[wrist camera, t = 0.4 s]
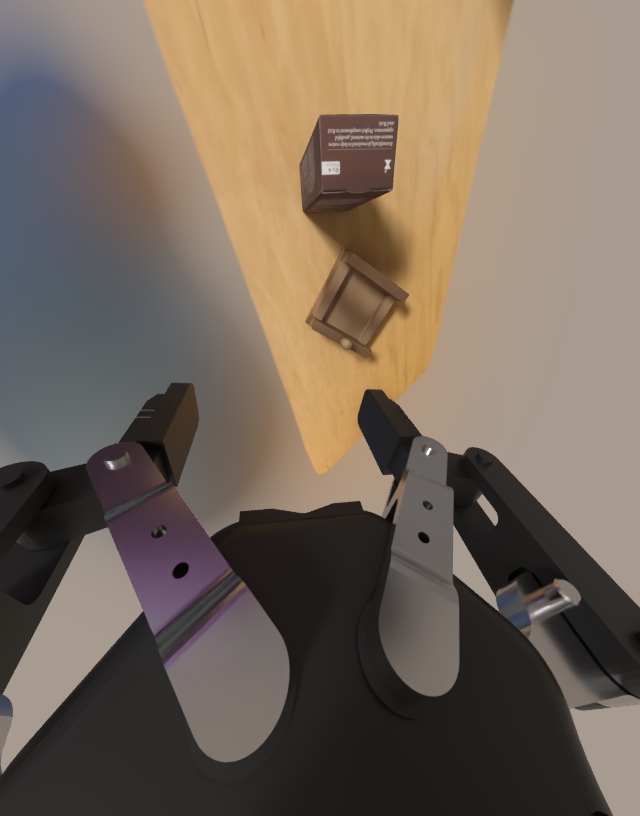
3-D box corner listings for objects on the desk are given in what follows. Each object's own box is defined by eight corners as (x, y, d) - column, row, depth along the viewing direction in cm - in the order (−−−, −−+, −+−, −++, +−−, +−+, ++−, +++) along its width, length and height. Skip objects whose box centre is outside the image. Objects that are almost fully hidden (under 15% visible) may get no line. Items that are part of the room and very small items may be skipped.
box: (350, 158, 26) (402, 112, 17) (349, 210, 29) (393, 197, 19) (296, 158, 26) (318, 110, 16) (300, 213, 28) (321, 200, 19)
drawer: (342, 247, 31) (359, 249, 26) (396, 287, 35) (419, 296, 30) (305, 321, 35) (313, 335, 30) (356, 348, 40) (371, 365, 34)
